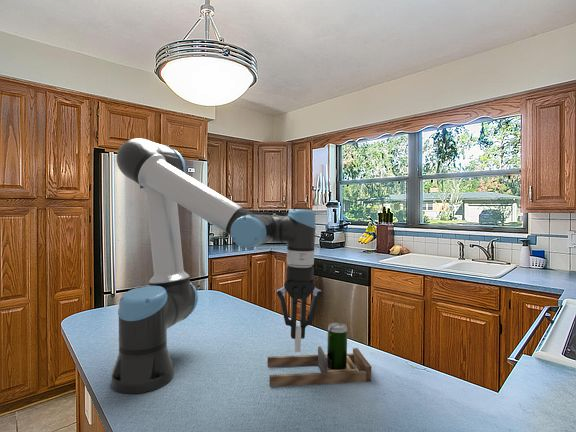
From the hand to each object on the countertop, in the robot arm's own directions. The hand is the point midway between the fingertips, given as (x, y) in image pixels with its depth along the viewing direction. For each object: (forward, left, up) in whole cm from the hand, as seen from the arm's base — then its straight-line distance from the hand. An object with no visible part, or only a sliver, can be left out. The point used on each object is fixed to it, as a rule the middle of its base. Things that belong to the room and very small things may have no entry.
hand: (297, 349), depth 95 cm
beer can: (+11, -1, -5) cm, 12 cm away
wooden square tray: (+11, -1, -6) cm, 13 cm away
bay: (+5, -1, -6) cm, 8 cm away
